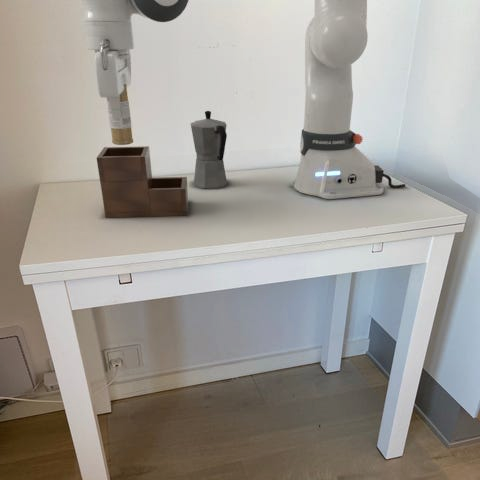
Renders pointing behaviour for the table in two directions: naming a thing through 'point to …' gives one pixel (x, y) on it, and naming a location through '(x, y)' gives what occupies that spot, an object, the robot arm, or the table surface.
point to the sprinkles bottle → (121, 120)
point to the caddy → (138, 185)
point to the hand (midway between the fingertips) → (119, 115)
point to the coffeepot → (209, 152)
